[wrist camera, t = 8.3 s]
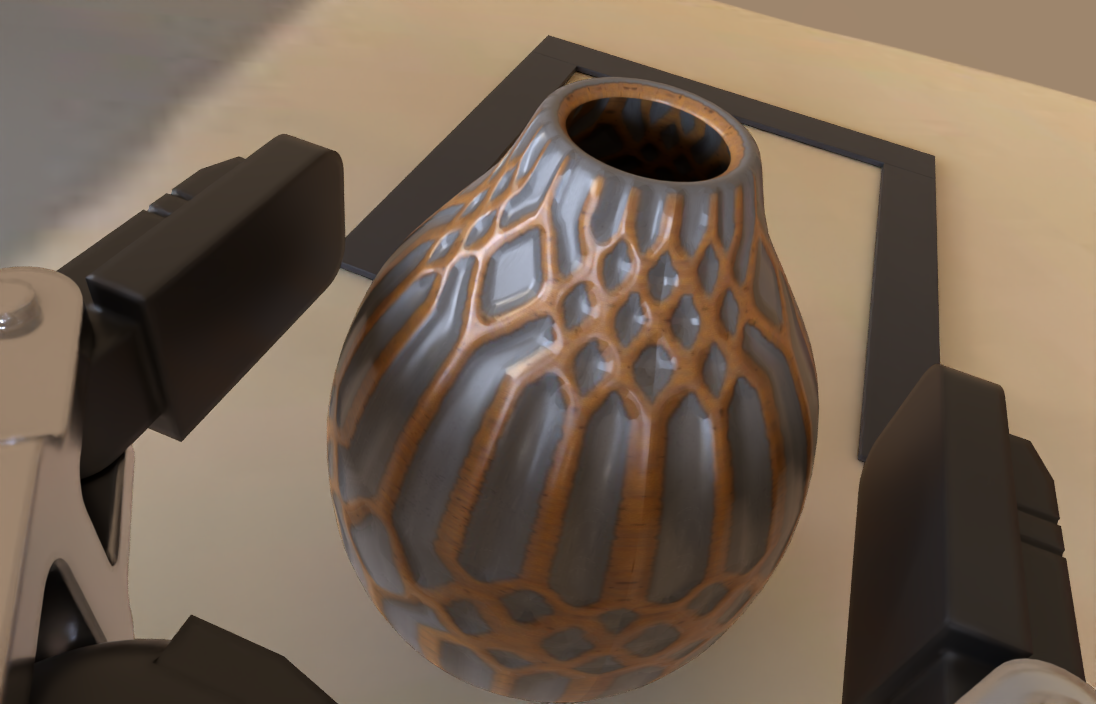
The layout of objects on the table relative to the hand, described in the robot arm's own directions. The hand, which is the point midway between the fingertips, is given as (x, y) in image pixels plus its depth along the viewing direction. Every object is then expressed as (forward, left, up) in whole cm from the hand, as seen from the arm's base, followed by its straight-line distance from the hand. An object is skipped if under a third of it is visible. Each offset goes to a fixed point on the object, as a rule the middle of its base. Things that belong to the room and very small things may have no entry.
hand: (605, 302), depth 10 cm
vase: (0, 0, -6) cm, 6 cm away
